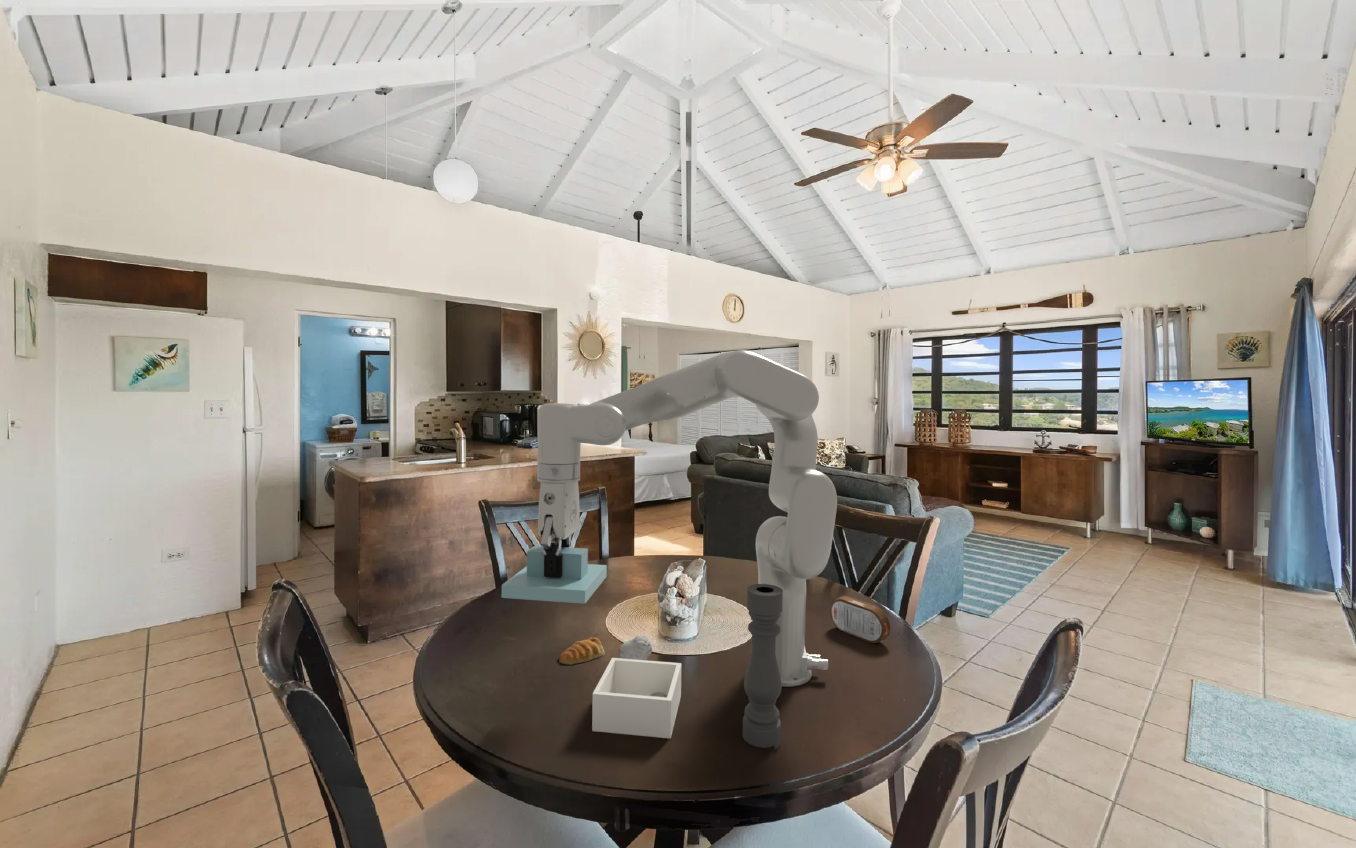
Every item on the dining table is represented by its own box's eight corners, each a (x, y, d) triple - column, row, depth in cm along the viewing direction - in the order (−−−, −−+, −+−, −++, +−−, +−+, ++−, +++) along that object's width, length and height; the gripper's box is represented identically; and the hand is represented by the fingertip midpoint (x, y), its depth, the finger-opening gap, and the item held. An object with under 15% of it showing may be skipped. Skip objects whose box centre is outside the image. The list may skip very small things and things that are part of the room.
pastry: (570, 673, 115) (570, 654, 115) (551, 662, 120) (551, 644, 120) (607, 659, 122) (607, 641, 122) (588, 649, 127) (588, 632, 127)
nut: (667, 704, 103) (667, 693, 102) (665, 713, 100) (665, 702, 100) (651, 702, 103) (651, 691, 103) (648, 711, 100) (648, 700, 100)
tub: (680, 700, 105) (681, 663, 105) (670, 743, 92) (671, 700, 92) (611, 694, 107) (612, 657, 107) (592, 735, 94) (592, 693, 94)
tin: (890, 646, 130) (891, 609, 130) (882, 649, 128) (884, 612, 128) (835, 624, 142) (836, 591, 141) (827, 627, 140) (828, 593, 140)
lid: (606, 576, 110) (607, 542, 110) (585, 603, 96) (585, 564, 95) (533, 571, 112) (533, 537, 112) (501, 597, 98) (501, 558, 97)
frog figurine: (648, 679, 113) (648, 645, 112) (614, 675, 114) (614, 641, 114) (656, 665, 119) (656, 632, 118) (624, 661, 120) (624, 628, 120)
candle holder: (776, 729, 97) (780, 583, 95) (784, 752, 91) (788, 596, 89) (739, 729, 97) (743, 583, 95) (745, 752, 90) (748, 596, 89)
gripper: (564, 479, 94) (562, 589, 95) (591, 467, 111) (590, 561, 112) (520, 478, 95) (519, 586, 96) (554, 465, 112) (553, 558, 113)
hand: (557, 571), depth 104 cm, fingers closed on lid, 4 cm apart
